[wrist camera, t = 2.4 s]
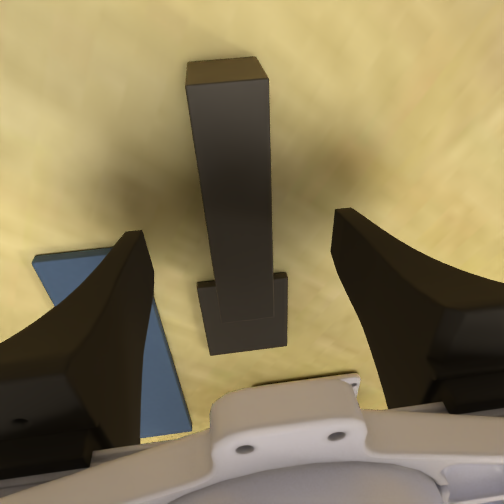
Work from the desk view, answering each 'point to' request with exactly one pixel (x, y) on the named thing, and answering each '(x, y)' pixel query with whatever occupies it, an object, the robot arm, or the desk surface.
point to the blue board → (155, 352)
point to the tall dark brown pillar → (236, 205)
